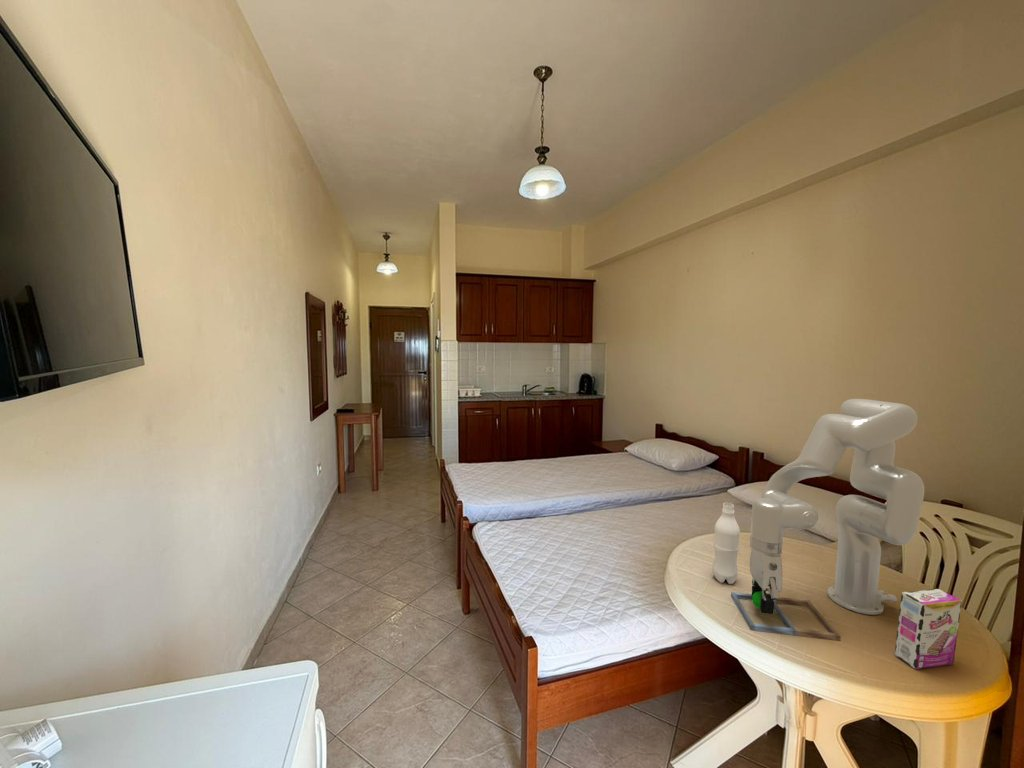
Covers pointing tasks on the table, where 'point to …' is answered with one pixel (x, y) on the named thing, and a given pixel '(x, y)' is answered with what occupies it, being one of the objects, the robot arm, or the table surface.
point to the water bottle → (726, 546)
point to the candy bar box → (927, 628)
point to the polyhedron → (757, 599)
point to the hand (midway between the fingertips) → (762, 605)
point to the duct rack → (789, 627)
